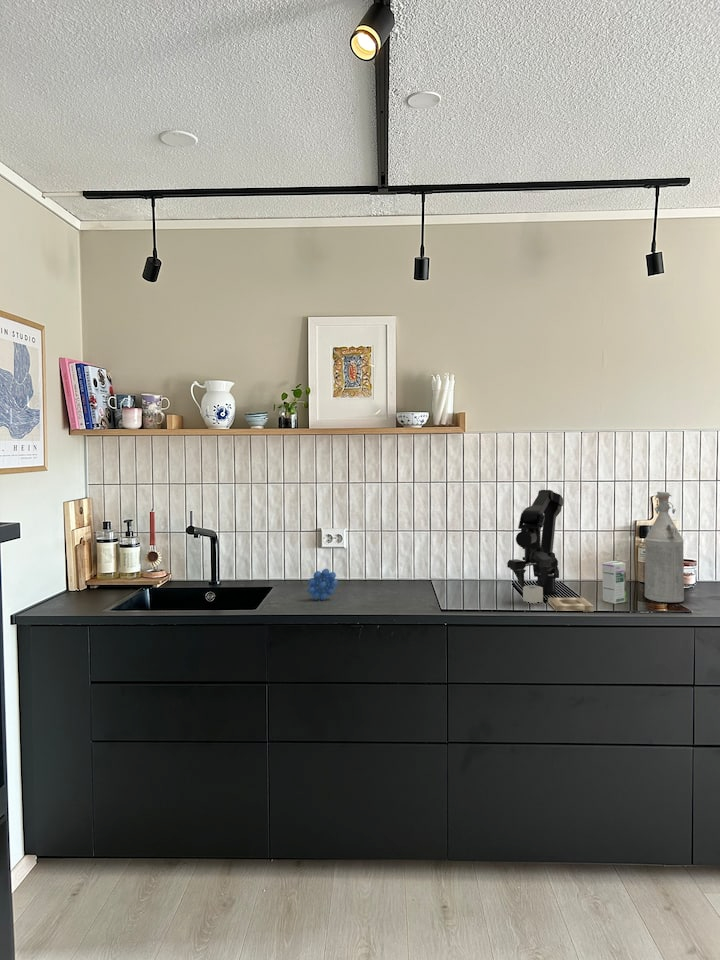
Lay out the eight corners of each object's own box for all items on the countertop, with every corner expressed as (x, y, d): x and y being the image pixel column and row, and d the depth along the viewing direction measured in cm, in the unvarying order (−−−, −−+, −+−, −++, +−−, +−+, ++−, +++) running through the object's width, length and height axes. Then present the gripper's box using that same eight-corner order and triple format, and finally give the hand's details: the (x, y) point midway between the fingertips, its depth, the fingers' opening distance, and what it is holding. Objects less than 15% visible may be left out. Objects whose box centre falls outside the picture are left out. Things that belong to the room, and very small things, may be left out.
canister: (654, 604, 224) (654, 493, 223) (638, 594, 242) (638, 490, 240) (692, 604, 223) (692, 492, 222) (673, 594, 240) (673, 490, 239)
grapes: (337, 597, 245) (336, 566, 244) (338, 601, 238) (338, 569, 238) (307, 598, 244) (306, 567, 243) (307, 602, 237) (307, 570, 237)
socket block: (582, 603, 228) (582, 597, 228) (593, 611, 216) (593, 605, 216) (548, 603, 229) (547, 597, 229) (556, 611, 217) (556, 605, 217)
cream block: (534, 599, 236) (534, 584, 235) (542, 602, 231) (542, 586, 231) (523, 600, 234) (523, 585, 233) (531, 603, 229) (531, 588, 229)
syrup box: (615, 604, 226) (615, 563, 225) (602, 601, 231) (602, 561, 231) (626, 602, 229) (626, 562, 228) (613, 599, 234) (613, 560, 233)
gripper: (524, 548, 221) (525, 592, 221) (568, 544, 228) (568, 587, 228) (506, 544, 231) (506, 587, 232) (547, 541, 238) (548, 582, 238)
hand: (532, 586), depth 232 cm, fingers open, 9 cm apart
